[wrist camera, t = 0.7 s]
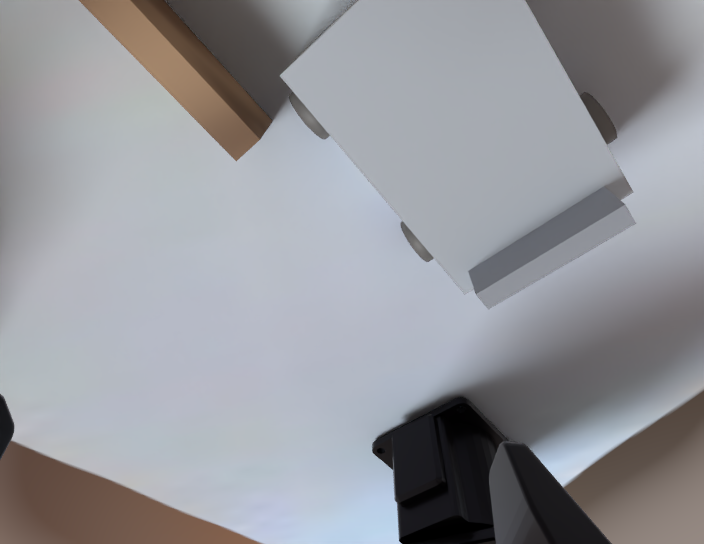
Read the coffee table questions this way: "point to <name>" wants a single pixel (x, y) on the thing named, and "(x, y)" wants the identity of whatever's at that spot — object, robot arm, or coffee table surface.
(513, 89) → the white block with knob
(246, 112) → the bay
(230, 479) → the coffee table surface
